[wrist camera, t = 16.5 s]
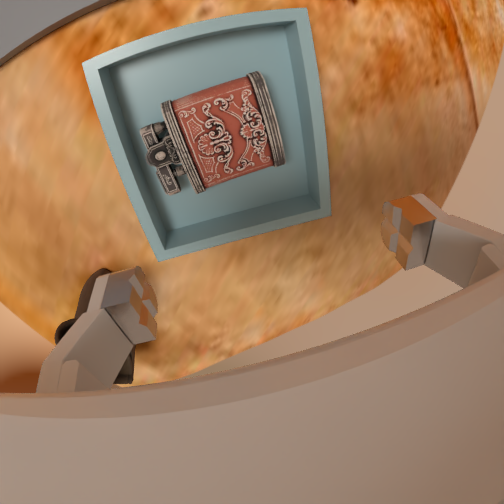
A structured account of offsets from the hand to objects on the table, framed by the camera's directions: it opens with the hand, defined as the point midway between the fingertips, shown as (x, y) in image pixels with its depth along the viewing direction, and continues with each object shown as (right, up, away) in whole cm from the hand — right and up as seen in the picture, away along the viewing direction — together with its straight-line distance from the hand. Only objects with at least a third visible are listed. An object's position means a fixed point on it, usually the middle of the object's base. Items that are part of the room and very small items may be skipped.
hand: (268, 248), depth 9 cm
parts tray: (-4, +10, +14) cm, 18 cm away
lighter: (+1, +10, +12) cm, 16 cm away
